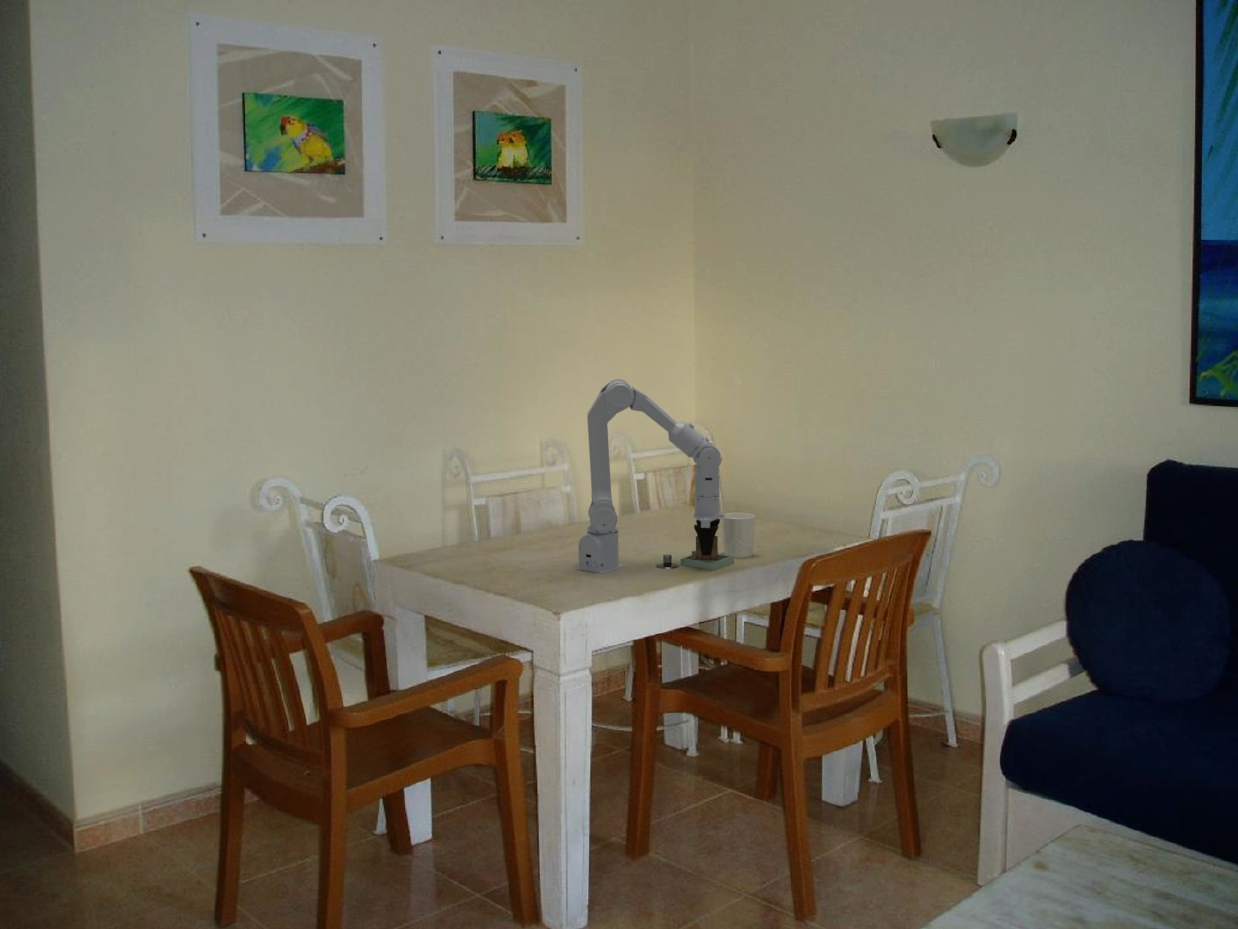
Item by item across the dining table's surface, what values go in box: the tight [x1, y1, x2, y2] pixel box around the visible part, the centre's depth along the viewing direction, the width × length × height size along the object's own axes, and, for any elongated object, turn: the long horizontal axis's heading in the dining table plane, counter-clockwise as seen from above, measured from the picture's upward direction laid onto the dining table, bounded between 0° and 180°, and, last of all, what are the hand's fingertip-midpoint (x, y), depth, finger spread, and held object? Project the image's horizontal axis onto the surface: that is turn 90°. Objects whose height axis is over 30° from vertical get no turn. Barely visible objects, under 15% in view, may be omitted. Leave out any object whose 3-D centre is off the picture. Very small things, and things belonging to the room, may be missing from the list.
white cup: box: [721, 512, 756, 559], centre depth 311 cm, size 8×8×10 cm
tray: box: [680, 553, 735, 571], centre depth 301 cm, size 9×9×2 cm
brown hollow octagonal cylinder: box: [691, 535, 719, 560], centre depth 301 cm, size 6×5×5 cm
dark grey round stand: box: [655, 554, 680, 570], centre depth 300 cm, size 6×6×3 cm
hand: (707, 552), depth 301 cm, fingers closed on brown hollow octagonal cylinder, 5 cm apart
